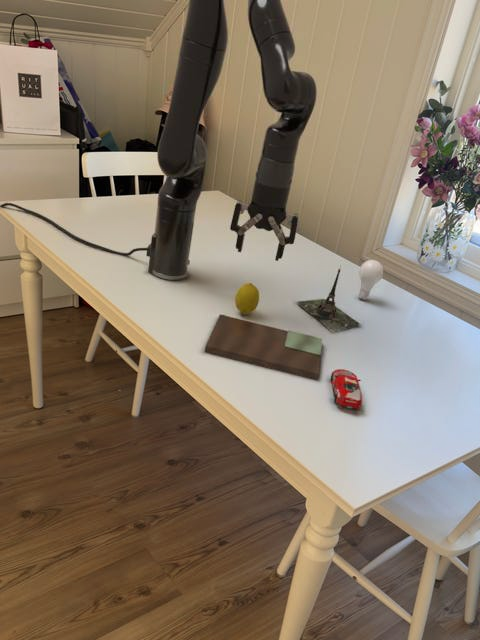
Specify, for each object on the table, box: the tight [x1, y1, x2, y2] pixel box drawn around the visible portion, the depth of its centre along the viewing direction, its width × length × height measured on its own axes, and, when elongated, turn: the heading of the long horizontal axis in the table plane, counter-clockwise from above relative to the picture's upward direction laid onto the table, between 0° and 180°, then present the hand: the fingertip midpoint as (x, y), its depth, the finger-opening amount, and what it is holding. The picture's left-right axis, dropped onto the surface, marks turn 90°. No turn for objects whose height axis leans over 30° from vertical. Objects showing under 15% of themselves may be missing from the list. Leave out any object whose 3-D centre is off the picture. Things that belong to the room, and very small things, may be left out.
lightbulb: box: [357, 259, 385, 301], centre depth 161 cm, size 6×6×11 cm
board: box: [204, 314, 323, 381], centre depth 131 cm, size 24×16×2 cm, turn 81°
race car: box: [330, 368, 363, 411], centre depth 121 cm, size 13×5×4 cm, turn 177°
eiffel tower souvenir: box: [296, 265, 362, 333], centre depth 147 cm, size 15×10×13 cm
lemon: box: [234, 282, 260, 315], centre depth 140 cm, size 6×6×8 cm
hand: (258, 255), depth 134 cm, fingers open, 8 cm apart
